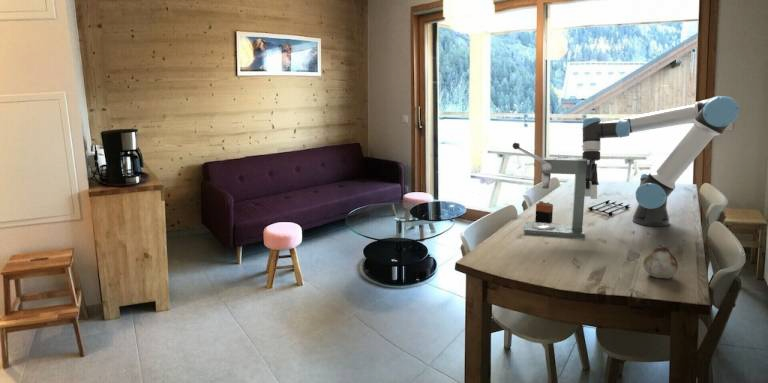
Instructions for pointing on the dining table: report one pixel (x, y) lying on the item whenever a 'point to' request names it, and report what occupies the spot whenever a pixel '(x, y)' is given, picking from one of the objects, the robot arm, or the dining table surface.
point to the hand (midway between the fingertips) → (590, 197)
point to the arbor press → (576, 228)
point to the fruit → (661, 263)
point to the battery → (544, 212)
